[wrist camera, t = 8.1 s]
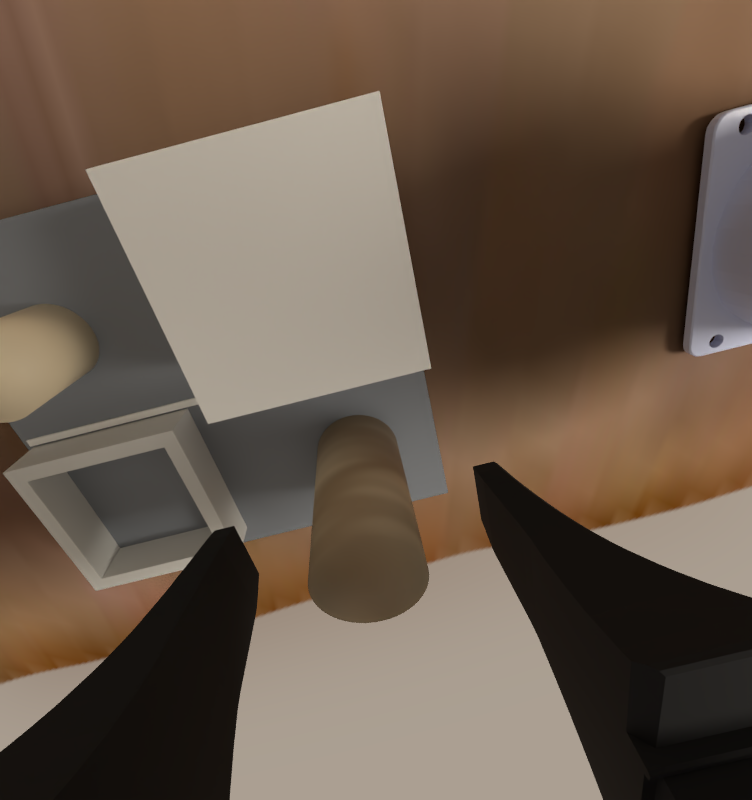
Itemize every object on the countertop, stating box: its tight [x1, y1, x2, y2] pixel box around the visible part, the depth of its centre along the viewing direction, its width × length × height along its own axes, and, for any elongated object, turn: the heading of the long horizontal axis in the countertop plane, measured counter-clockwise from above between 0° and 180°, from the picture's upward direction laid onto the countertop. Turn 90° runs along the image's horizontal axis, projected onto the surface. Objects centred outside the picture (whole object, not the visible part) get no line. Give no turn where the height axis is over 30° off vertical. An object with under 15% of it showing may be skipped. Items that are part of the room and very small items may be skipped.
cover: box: [85, 91, 431, 424], centre depth 11 cm, size 5×5×4 cm
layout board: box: [0, 194, 448, 591], centre depth 14 cm, size 14×13×4 cm
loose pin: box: [308, 415, 429, 623], centre depth 13 cm, size 3×3×6 cm
